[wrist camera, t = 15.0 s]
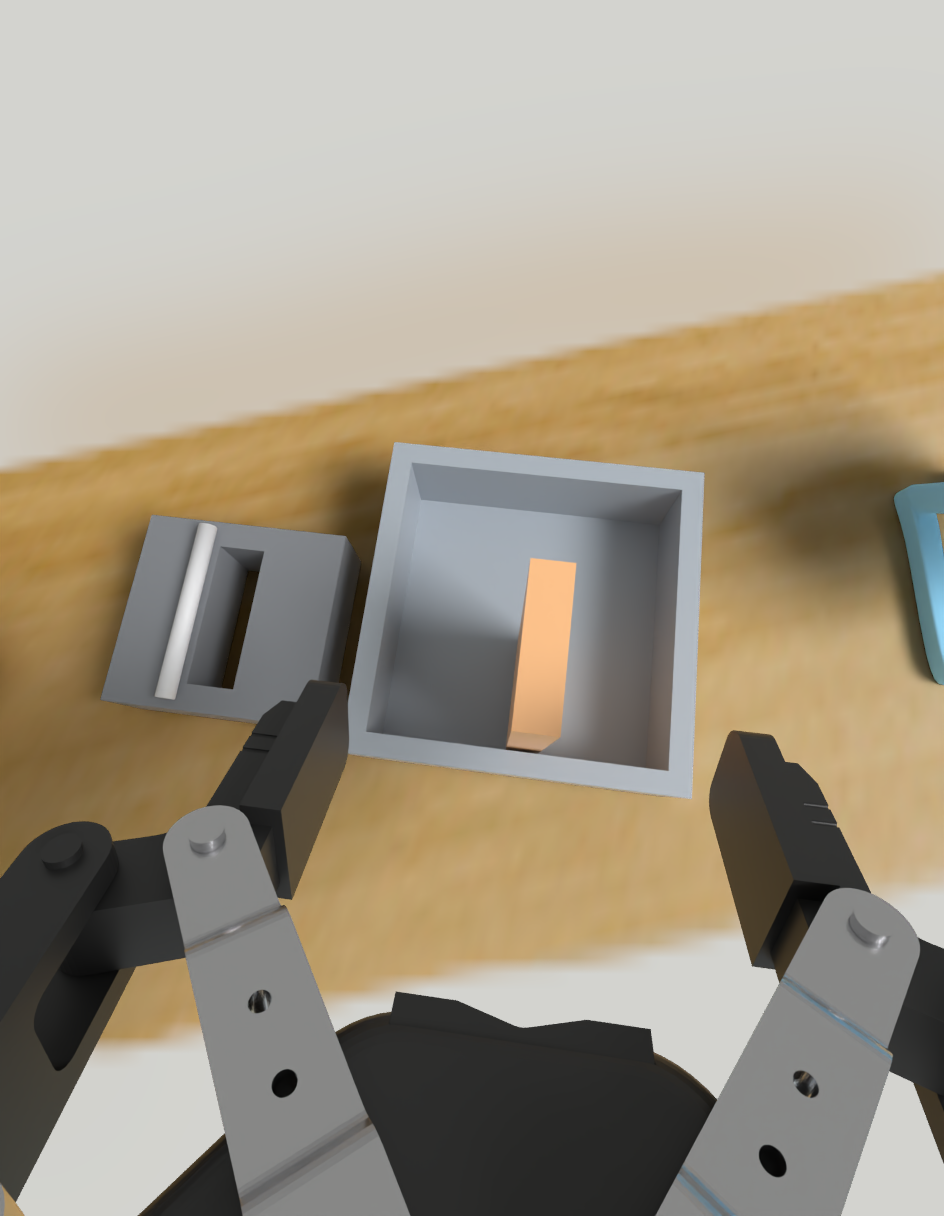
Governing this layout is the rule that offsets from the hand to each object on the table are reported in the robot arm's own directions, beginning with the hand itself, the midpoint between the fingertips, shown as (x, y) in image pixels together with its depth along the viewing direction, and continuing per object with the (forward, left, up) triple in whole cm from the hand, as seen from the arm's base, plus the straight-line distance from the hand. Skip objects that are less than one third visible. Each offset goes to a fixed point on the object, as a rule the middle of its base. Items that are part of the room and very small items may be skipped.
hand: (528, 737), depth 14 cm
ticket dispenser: (-12, +4, -13) cm, 18 cm away
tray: (0, +5, -13) cm, 14 cm away
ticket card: (0, +3, -12) cm, 12 cm away
